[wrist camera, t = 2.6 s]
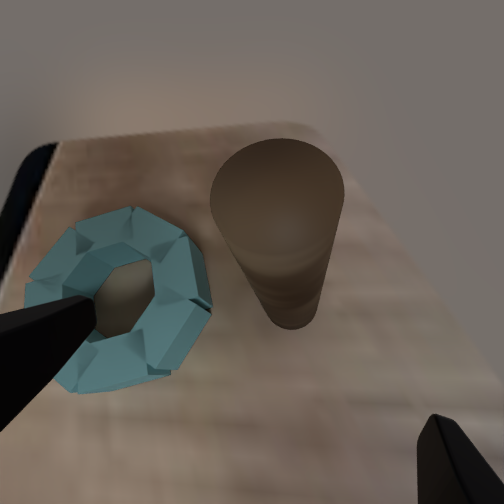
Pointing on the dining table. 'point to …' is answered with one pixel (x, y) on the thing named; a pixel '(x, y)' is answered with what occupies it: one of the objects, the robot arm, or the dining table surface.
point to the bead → (153, 318)
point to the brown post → (280, 222)
